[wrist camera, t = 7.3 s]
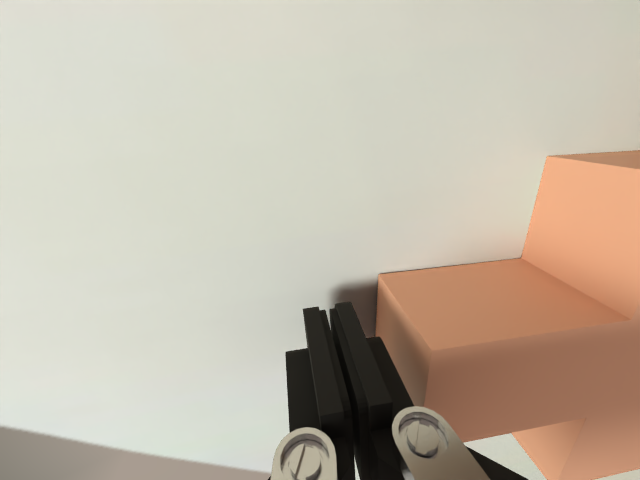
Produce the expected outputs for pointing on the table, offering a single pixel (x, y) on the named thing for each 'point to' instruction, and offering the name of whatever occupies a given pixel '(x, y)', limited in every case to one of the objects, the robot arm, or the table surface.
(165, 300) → the table surface
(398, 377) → the robot arm
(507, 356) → the t block
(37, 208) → the table surface
